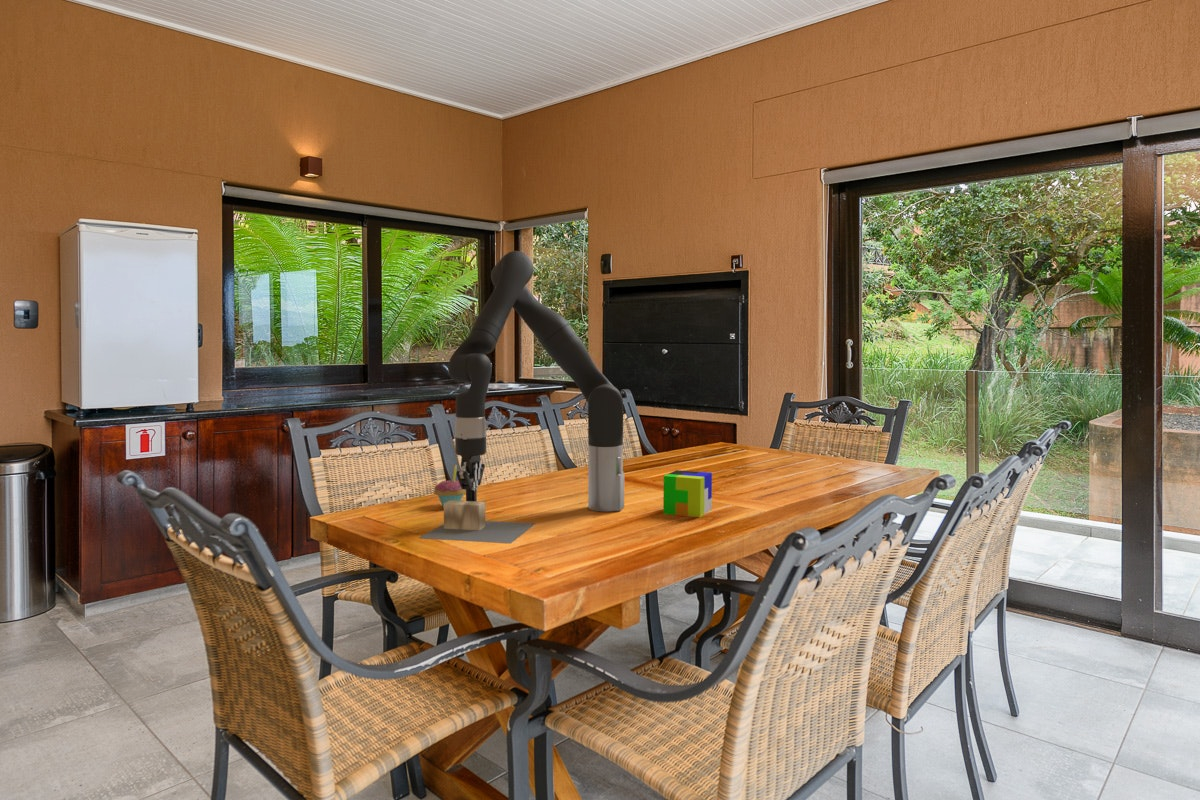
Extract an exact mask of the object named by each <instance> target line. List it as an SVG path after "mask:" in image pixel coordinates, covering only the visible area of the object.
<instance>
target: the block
mask: <svg viewBox="0 0 1200 800" xmlns="http://www.w3.org/2000/svg"><path fill="white" fill-rule="evenodd" d="M486 521H487V520H486V501H477V502H476V501H466V500H461V501H454V500H450V501H448V502H446V503H444V507H443V524H444V529H462V530H481V529H482V528H484V527H485V526H486Z"/></svg>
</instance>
